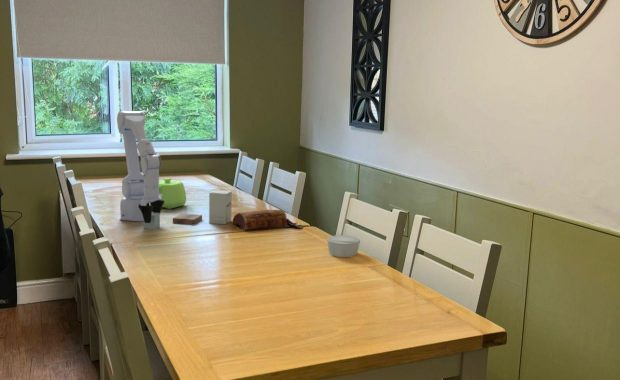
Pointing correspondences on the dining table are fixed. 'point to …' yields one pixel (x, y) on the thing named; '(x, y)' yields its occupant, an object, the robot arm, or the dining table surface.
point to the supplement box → (220, 207)
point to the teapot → (172, 193)
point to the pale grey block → (153, 221)
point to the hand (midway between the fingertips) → (151, 220)
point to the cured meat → (262, 219)
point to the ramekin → (343, 245)
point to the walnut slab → (187, 219)
